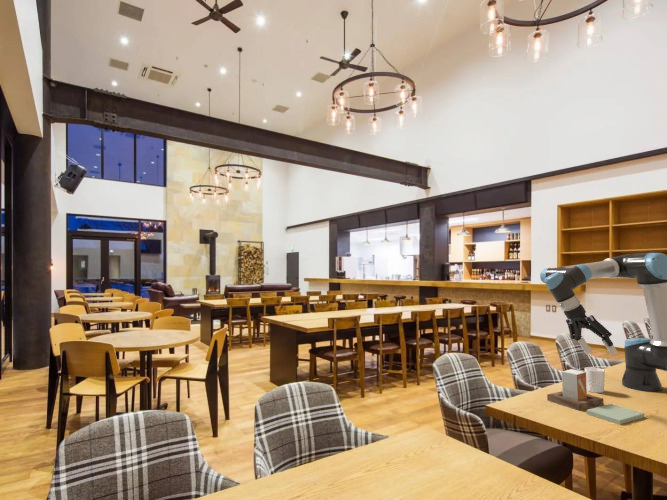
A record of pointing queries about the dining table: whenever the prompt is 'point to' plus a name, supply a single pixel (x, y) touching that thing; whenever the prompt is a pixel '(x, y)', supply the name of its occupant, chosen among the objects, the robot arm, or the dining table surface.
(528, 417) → the dining table surface
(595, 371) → the white cup
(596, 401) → the walnut holder
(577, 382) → the small box
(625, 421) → the board
